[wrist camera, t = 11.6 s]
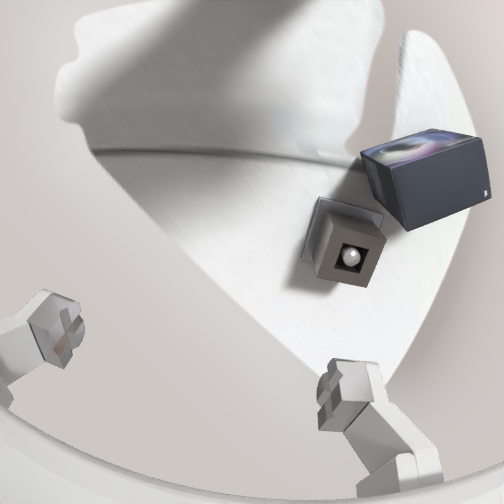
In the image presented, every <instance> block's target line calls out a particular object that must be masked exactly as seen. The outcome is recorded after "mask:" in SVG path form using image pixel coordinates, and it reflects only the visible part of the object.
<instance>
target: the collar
mask: <svg viewBox="0 0 504 504" xmlns="http://www.w3.org/2000/svg"><path fill="white" fill-rule="evenodd" d="M386 240H387V239H386V238H385V237H384V235H383V234H382V233H381V231H380V230H379V229H378V227H377V226H376V225H375V224H374V222H371V221H368V220H364V219H360V218H357V217H353V216H349V215H345V214H342V213H338V212H334V211H330V210H326V212H325V215H324V218H323V222H322V225H321V228H320V231H319V235H318V238H317V241H316V244H315V247H314V250H313V254H312V259H313V264H314V269H315V274H316V277H317V278H321V279H326V280H331V281H336V282H341V283H346V284H350V285H355V286H360V287H365V288H367V285H368V283H369V281H370V279H371V276H372V274H373V272H374V269H375V267H376V265H377V262H378V260H379V257H380V255H381V253H382V250H383V248H384V245H385V243H386ZM343 243H346V244H350V245H354V246H355V247H356V249H357V251H358V252H359V254H360V261H359V262H358V264H356V265H355V266H348V265H346V264H345V263H344V260H343V258H342V255H341V253H340V250H341V247H342V244H343Z"/></svg>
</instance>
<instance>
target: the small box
mask: <svg viewBox="0 0 504 504" xmlns="http://www.w3.org/2000/svg"><path fill="white" fill-rule="evenodd" d="M360 154H361V157H362V161H363V164H364V167H365V170H366V173H367V176H368V179H369V182H370V185H371V189H372V192H373V195H374V198H375V199H376V200H377V201H378V202H379V203H381V204H382V206H383V207H385V208H386V209H387V210H388V211H389V212H390V213H391V215H392V216H394V217H395V218H396V220H398V221H399V223H400V224H401V225H402V226H403V227H404V229H405V230H406V231H407V232H409V231H411V230H414V229H416V228H419V227H422V226H424V225H427V224H429V223H432V222H434V221H437V220H439V219H442V218H444V217H447V216H450V215H452V214H454V213H457V212H459V211H462V210H464V209H467V208H469V207H471V206H474V205H476V204H479V203H481V202H483V201H486V200H488V199H490V198H491V197H492V194H491V187H490V179H489V173H488V168H487V161H486V156H485V150H484V146H483V141H482V139H481V138H478V137H473V136H469V135H464V134H459V133H454V132H449V131H443V130H438V129H429V130H426V131H422V132H419V133H416V134H413V135H409V136H406V137H403V138H400V139H397V140H394V141H391V142H388V143H385V144H382V145H379V146H375V147H373V148H370V149H367V150H364V151H361V152H360Z"/></svg>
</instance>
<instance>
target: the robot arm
mask: <svg viewBox="0 0 504 504" xmlns="http://www.w3.org/2000/svg"><path fill="white" fill-rule="evenodd" d="M80 312H81V308H80V304H79V303H78V302H76V301H74V300H72V299H69V298H66V297H64V296H61V295H59V294H56V293H53V292H50V291H48V290H46V289H42V290H39V292H38V293H37V294H36V295H35V296H34V297H33V298H32V299H31V300H30V301H29V302H28V303H27V304H26V305H25V306H24V307H23V308H22V309H21V311H20V312H19V313H18V314H17V315H16V316H14V315H11V316H9V317H6V318H4V319H1V320H0V504H504V462H501V463H499V464H496V465H494V466H491V467H489V468H486V469H484V470H481V471H478V472H476V473H473V474H470V475H467V476H464V477H460V478H457V479H454V480H450V481H447V482H444V477H443V472H442V468H441V464H440V459H439V456H438V451H437V448H436V447H435V446H434V445H433V444H432V443H431V442H430V441H429V440H428V439H427V437H426V436H425V435H424V434H423V433H422V432H421V431H420V430H419V429H418V428H417V427H416V426H415V425H414V424H413V423H412V422H411V421H410V420H409V419H408V418H407V417H406V416H405V415H404V414H403V413H402V411H401V410H400V409H399V408H397V406H396V405H395V404H394V403H389V400H388V396H387V392H386V388H385V385H384V381H383V377H382V374H381V370H380V367H379V364H378V363H377V362H369V361H358V360H347V359H337V358H333V359H331V360H330V362H329V364H328V365H327V368H328V372H326V373H324V374H322V376H321V378H320V380H319V383H318V387H317V402H318V404H319V405H320V406H321V409H320V410H319V412H318V428H319V431H333V432H344V433H343V434H344V435H345V437H346V439H347V440H348V442H349V443H350V445H351V446H352V448H353V449H354V451H355V452H356V454H357V455H358V457H359V458H360V459H361V461H362V463H363V464H364V465H365V467H366V468H367V470H368V471H369V473H370V475H369V476H367V477H366V478H364V479H363V480H361V481H360V482H359V483H358V484H357V485H356V488H357V498H351V499H336V500H282V499H281V500H280V499H266V498H254V497H246V496H238V495H230V494H224V493H218V492H212V491H206V490H201V489H196V488H191V487H187V486H183V485H179V484H174V483H170V482H167V481H163V480H160V479H156V478H153V477H149V476H146V475H143V474H140V473H137V472H134V471H131V470H128V469H125V468H122V467H120V466H117V465H114V464H112V463H109V462H106V461H104V460H101V459H99V458H96V457H94V456H92V455H90V454H87V453H85V452H83V451H81V450H79V449H76V448H74V447H72V446H70V445H68V444H66V443H64V442H62V441H60V440H58V439H56V438H54V437H52V436H50V435H49V434H47V433H45V432H43V431H42V430H40V429H38V428H36V427H35V426H33V425H31V424H29V423H28V422H26V421H25V420H23V419H21V418H20V417H18V416H17V415H15V414H14V413H12V412H11V411H9V410H8V408H9V406H10V405H11V403H12V401H13V400H14V399H13V395H12V394H11V392H10V391H9V389H8V388H7V386H8V385H9V384H11V383H13V382H14V381H16V380H17V379H19V378H21V377H22V376H24V375H25V374H27V373H29V372H30V371H32V370H34V369H35V368H37V367H38V366H40V365H42V364H43V363H45V361H46V362H48V363H50V364H52V365H55V366H57V367H59V368H62V369H64V368H65V367H66V365H67V363H68V362H69V361H70V359H71V357H72V356H73V354H72V349H74V348H76V347H78V346H79V345H80V343H81V342H82V340H83V337H84V333H85V325H84V321H83V319H82V318H81V317H80V316H79V313H80Z"/></svg>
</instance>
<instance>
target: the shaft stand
mask: <svg viewBox="0 0 504 504" xmlns="http://www.w3.org/2000/svg"><path fill="white" fill-rule="evenodd" d="M326 210H330V211H334V212H338V213H342V214H345V215H349V216H353V217H357V218H360V219H364V220H368V221H371V222H374V224H375V225H376V226H377V227H378V229H379V228H380V225H381V222H382V220H383V217H384V216H383V215H382V214H381V213H378V212H374V211H371V210H367V209H364V208H360V207H357V206H353V205H350V204H346V203H342V202H338V201H335V200H331V199H327V198H323V197H319V200H318V203H317V207H316V210H315V214H314V217H313V220H312V224H311V227H310V231H309V234H308V237H307V241H306V244H305V247H304V250H303V254H302V257H301V258H302V261H304V262H309V263H313V259H312V254H313V250H314V247H315V244H316V241H317V238H318V235H319V231H320V228H321V225H322V222H323V218H324V215H325V212H326ZM340 253H341V255H342V258H343V260H344V263H345V264H346V265H348V266H355V265H356V264H358V262H359V261H360V254H359V252H358V251H357V249H356V247H355V246H354V245H350V244H346V243H343V244H342V247H341V250H340Z"/></svg>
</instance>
